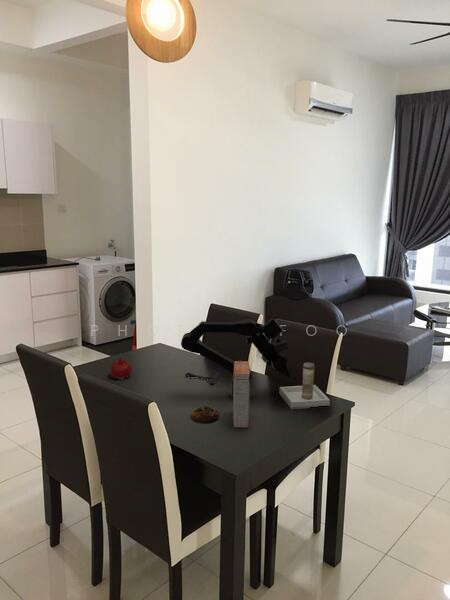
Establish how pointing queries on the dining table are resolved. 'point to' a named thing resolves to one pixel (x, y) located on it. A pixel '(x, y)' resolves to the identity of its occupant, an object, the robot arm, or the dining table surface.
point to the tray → (296, 401)
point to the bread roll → (205, 414)
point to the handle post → (308, 381)
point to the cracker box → (241, 394)
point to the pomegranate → (120, 369)
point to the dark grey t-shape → (206, 377)
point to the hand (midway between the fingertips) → (286, 374)
